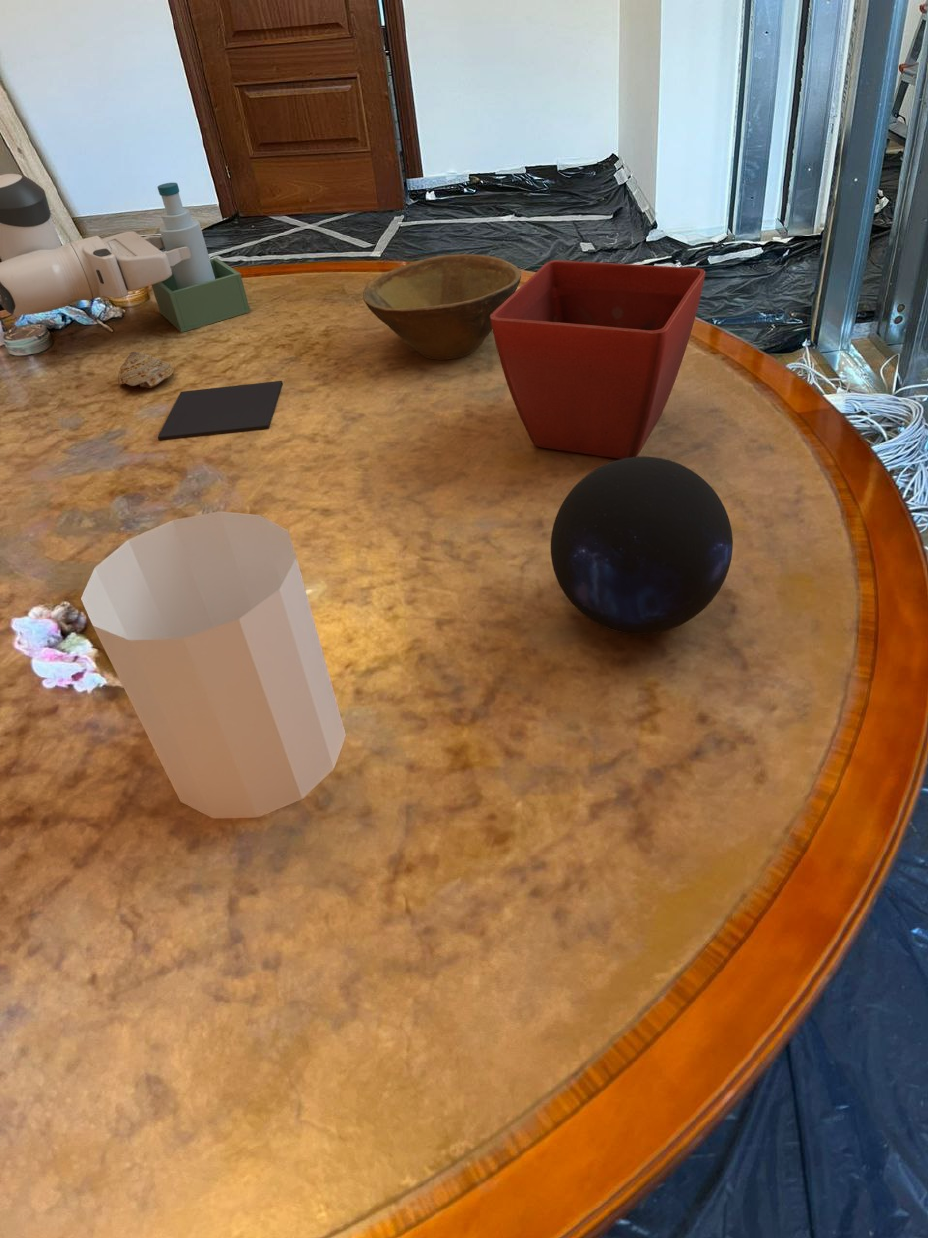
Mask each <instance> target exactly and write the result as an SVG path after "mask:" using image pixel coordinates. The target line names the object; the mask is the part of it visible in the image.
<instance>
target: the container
mask: <svg viewBox="0 0 928 1238" xmlns="http://www.w3.org/2000/svg"><path fill="white" fill-rule="evenodd" d="M80 600H81V602H82V604H83V606H84V609H85V612H86V614H87V616H88V618H89V620H90V623H91V625H92V627H93V629H94V631H95V633H96V636H97V637H98V639H99V641H100V643H101V645H102V647H103V649H104V652H105V653H106V655H107V657H108V659H109V662H110V663H111V666H112V667H113V670H114V671H115V673H116V676H117V678H118V679H119V681H120V683H121V685H122V688H123V690H124V691H125V694H126V695H127V698H128V699H129V702H130V703H131V706H132V708H133V709H134V711H135V714H136V716H137V717H138V719H139V722H140V724H141V725H142V728H143V730H144V732H145V734H146V735H147V738H148V740H149V741H150V743H151V746H152V748H153V750H154V752H155V753H156V755H157V758H158V759H159V761H160V763H161V766H162V768H163V769H164V772H165V773H166V776H167V778H168V780H169V781H170V784H171V786H172V788H173V789H174V792H175V794H176V795H177V798H178V800H179V802H180V803H182V804H184V805H185V806H188V807H189V808H192V809H194V810H196V811H197V812H200V813H202V814H204V815H205V816H208V817H210V818H211V819H246V818H248V819H249V818H260V817H262V816H265V815H267V814H270V813H273V812H275V811H277V810H279V809H283V808H284V807H287V806H289V805H292V804H294V803H297V802H299V801H302V800H303V799H304V798H305V797H306V796H308V795H309V793H311V792H312V791H313V790H314V789H315V788H316V787H317V786H318V785H320V783H321V782H322V781H323V780H324V779H325V778H327V777H328V776H329V774H330V773H332V772H333V771H334V770H335V768H336V764H337V762H338V759H339V756H340V754H341V751H342V748H343V746H344V743H345V741H346V738H347V733H346V731H345V726H344V723H343V720H342V716H341V712H340V709H339V704H338V701H337V698H336V694H335V691H334V687H333V683H332V679H331V676H330V672H329V669H328V665H327V662H326V658H325V655H324V651H323V647H322V644H321V640H320V637H319V633H318V630H317V626H316V623H315V622H316V621H315V618H314V616H313V612H312V608H311V604H310V601H309V597H308V593H307V590H306V587H305V583H304V579H303V575H302V571H301V567H300V565H299V561H298V557H297V554H296V551H295V547H294V544H293V540H292V537H291V534H290V530H288V529H286V528H284V527H283V526H281V525H279V524H277V523H276V522H274V521H272V520H270V519H268V518H267V517H265V516H264V515H262V514H252V513H242V512H232V511H231V512H230V511H220V510H219V511H214V512H208V513H202V514H197V515H192V516H185V517H181V518H175V519H172V520H170V521H167V522H165V523H163V524H160V525H157V526H156V527H153V528H151V529H149V530H147V531H145V532H142V533H140V534H138V535H136V536H133V537H131V538H129V539H127V540H126V541H125V542H123V543H122V544H121V545H120V546H119V547H118V548H116V549H115V550H114V551H113V552H111V554H109V555H107V557H106V558H104V559H103V560H102V561H100V562H99V563H98V564H97V565H96V566H94V568H93V570H92V572H91V574H90V577H89V579H88V581H87V584H86V585H85V588H84V590H83V593H82V595H81V597H80Z"/></svg>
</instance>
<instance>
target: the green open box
mask: <svg viewBox="0 0 928 1238" xmlns="http://www.w3.org/2000/svg"><path fill="white" fill-rule="evenodd" d="M209 259H210V262H211V266H212V269H213V273H214V276H215V279H214V280H211V281H207V282H204V283H200V284H196V285H193V286H189V287H186V288H182V289H179V290H178V288H177V285H176V282H175V278H174V275H173V272H172V275H171V276H170V277H169V278H168V279H166V280H164V281H162V282H159V283H156V284H153V285H151V288H152V292H153V294H154V298H155V300H156V304H157V306H158V309H159V312H160V314H161V315H162V317H164V318H165V319H166V320H167V321H168V322H170V324H171V325H173V326H174V327H175V328H176V329H177V330H178V331H179V332H180V333H185V332H188V331H191V330H196V329H199V328H201V327H202V328H203V327H205V326H209V325H211V324H215V323H219V322H222V321H225V320H228V319H232V318H235V317H239V316H242V315H245V314H249V313H252V312H251V308H250V304H249V300H248V297H247V292H246V289H245V285H244V282H243V278H242V274H241V272H239V271H238V270H236V269H234V268H233V267H231V266H230V265H228V264H227V263H225V262H224V261H222V260H220V259H219V258H218V257H214V258H209ZM171 271H172V269H171Z"/></svg>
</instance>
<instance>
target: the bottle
mask: <svg viewBox="0 0 928 1238" xmlns="http://www.w3.org/2000/svg"><path fill="white" fill-rule="evenodd" d="M156 188H157V191H158V194H159V196H161V200H162V203H163V206H164V209H165V212H163V213H162V214H161V219H162V223H163V225H162V226H160V227H159V229H158V230H159V234H160V236H161V237H162V240H163V243H164V246H165V248H164V250H165V251H171V250H174V249H176V248H175V247H179V246H183V245H184V246H186V247H188V248H189V251H190V254H191V257H190V258H189V259H185V260H182V261H180V262H179V263H177V264H175V265H174V266H170V268H171V270H172V272H173V275H174V278H175V282H176V285H177V288H178V290H179V289H182V288H186V287H189V286H193V285H196V284H200V283H204V282H207V281H211V280H214V279H215V276H214V273H213V269H212V266H211V262H210V259H211V258H210V255H209V252H208V248H207V246H206V241H205V238H204V235H203V231H202V227H201V224H200V221H199V220H196V219H193V217H192V215H191V211H190V209H188V208H184V206H183V203H182V199H181V196H180V187H179V185H178V183H177V182H167V183H163V184H160V185H157V187H156Z"/></svg>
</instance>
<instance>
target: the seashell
mask: <svg viewBox="0 0 928 1238" xmlns="http://www.w3.org/2000/svg"><path fill="white" fill-rule="evenodd" d="M174 371H175V369H174V367H173V366H172V365H171V364H170V363H168V362H167V361H164V360H161V359H158V358H157V357H154V356H151V355H149V354H146V353H143V352H136V351H131V352H130V354H129V355H128V356H127V358H126V359H125V360H124V361H123V363H122V364H121V366H120V368H119V371H118V374H117V384H118V385H125V384H126V385H128V386H130V387H135V386H137V385H139V386H140V388H147V389H152V388H154V387H156V386H157V385H159V384H160V383H162V382H163V381H165V380H166V379H168V378H169V377H170V376H171V375H173V374H174Z"/></svg>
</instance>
